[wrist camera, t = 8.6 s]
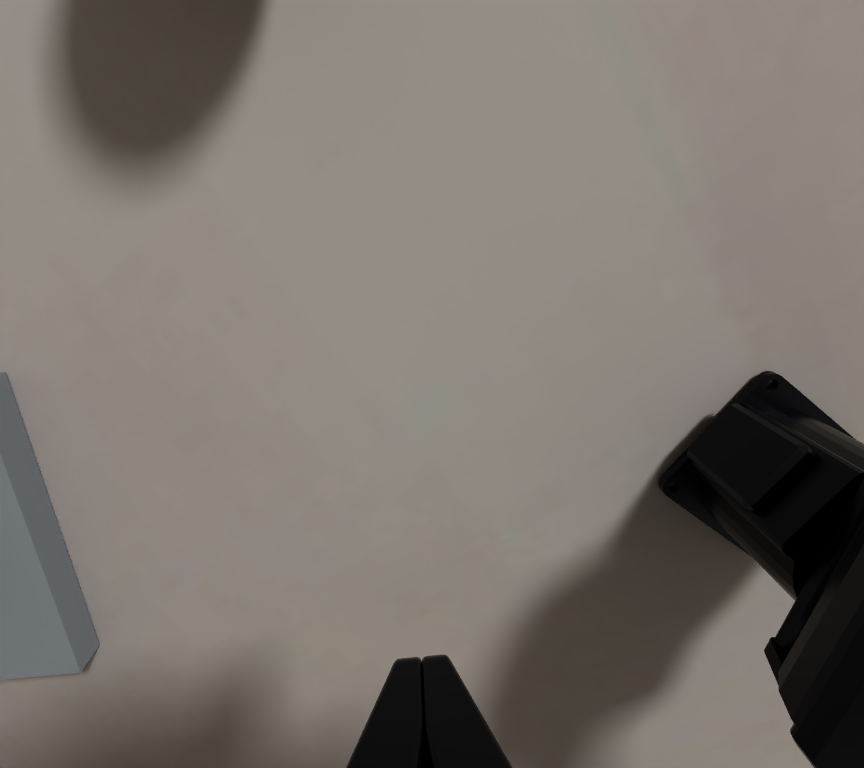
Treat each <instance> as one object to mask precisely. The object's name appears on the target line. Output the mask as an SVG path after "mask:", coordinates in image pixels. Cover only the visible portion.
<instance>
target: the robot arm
mask: <svg viewBox="0 0 864 768" xmlns="http://www.w3.org/2000/svg"><path fill="white" fill-rule="evenodd" d="M771 380H772V383H771V385H770V386H769V387H768V388H766V385H767V383H768V382H769V381H771ZM675 481H676V483H675V484H674V485H673V486H672V487H668V486H669V485H670V483H672V482H675ZM658 485H659V488H660V489H661V490H662V491H663V493H664V494H665V495H666V496H668V497H669V498H670V499H672V500H673V501H675V502H676V503H677V504H679V505H680V506H682V507H683V508H684V509H686V510H687V511H689V512H690V513H691V514H693V515H694V516H696V517H697V518H698V519H700V520H701V521H703V522H704V523H705V524H707V525H708V526H710V527H711V528H712V529H714V530H715V531H717V532H718V533H719V534H721V535H722V536H723V537H725V538H726V539H728V540H729V541H730V542H732V543H733V544H735V545H736V546H737V547H739V548H740V549H742V550H743V551H744V552H746V553H747V554H749V555H750V556H751V557H753V558H754V559H755V560H756V561H757V562H758V563H759V564H760V566H761V567H762V568H763V569H764V570H765V571H766V572H767V573H768V574H769V575H770V576H771V577H772V578H773V579H774V580H775V581H776V582H777V583H778V584H779V585H780V586H781V587H782V588H783V589H784V590H785V591H786V592H787V593H788V594H789V595H790V596H791V597H792V598H793V599H794V600H795V603H794V604H793V606H792V608H791V610H790V612H789V613H788V615H787V617H786V619H785V621H784V622H783V624H782V626H781V628H780V630H779V631H778V633H777V635H776V637H771V638H770V640H769V642H768V644H767V646H766V647H765V649H764V652H765V655H766V657H767V659H768V662H769V664H770V666H771V669H772V671H773V674H774V676H775V678H776V681H777V683H778V685H779V693H780V695H781V697H782V699H783V701H784V704H785V706H786V708H787V710H788V713H789V715H790V717H791V719H792V721H793V722H794V724H793V726H792V727H791V730H790V733H791V735H792V737H793V739H794V741H795V743H796V745H797V746H798V747H799V749H800V750H801V751H802V752H803V754H804V755H805V756H806V758H807V759H808V760H809V762H810V763H811V764H812V765H813V767H814V768H864V444H863V443H861V442H859V441H857V440H856V439H854V438H853V437H852V436H851V435H850V434H849V433H847V432H846V431H845V430H844V429H843V428H842V427H840V426H839V425H838V424H837V423H836V422H835V421H833V420H832V419H831V418H830V417H829V416H828V415H826V414H825V413H824V412H823V411H822V410H821V409H819V408H818V407H817V406H816V405H815V404H814V403H812V402H811V401H810V400H809V399H808V398H807V397H805V396H804V395H803V394H802V393H801V392H800V391H798V390H797V389H796V388H795V387H794V386H793V385H791V384H790V383H789V382H788V381H787V380H786V379H784V378H783V377H782V376H780V375H778V374H776V373H774V372H772V371H765V372H762V373H760V374H759V375H758V376H757V377H756V378H755V379H754V380H753V381H752V382H751V383H750V384H749V385H748V386H747V387H746V388H745V389H744V390H743V391H742V392H741V393H740V395H739V396H738V397H737V398H736V399H735V400H734V401H733V402H732V403H731V404H730V405H729V406H728V407H727V408H726V409H725V410H724V411H723V412H722V413H721V414H720V415H719V416H718V418H717V419H716V420H715V421H714V422H713V423H712V424H711V425H710V426H709V427H708V428H707V429H706V430H705V431H704V432H703V433H702V434H701V435H700V436H699V437H698V438H697V440H696V441H695V442H694V443H693V444H692V445H691V446H690V447H689V448H688V449H687V450H686V451H685V452H684V453H683V454H682V455H681V456H680V457H679V458H678V459H677V460H676V461H675V463H674V464H673V465H672V466H671V467H670V468H669V469H668V470H667V471H666V472H665V473H664V474H663V475H662V476H661V478H660V479H659V483H658ZM346 768H512V767H511V765H510V763H509V761H508V760H507V758H506V756H505V754H504V753H503V751H502V749H501V747H500V746H499V744H498V742H497V740H496V739H495V737H494V735H493V733H492V732H491V730H490V728H489V726H488V725H487V723H486V721H485V719H484V718H483V716H482V714H481V713H480V711H479V709H478V707H477V706H476V704H475V702H474V700H473V699H472V697H471V695H470V693H469V692H468V690H467V688H466V686H465V685H464V683H463V681H462V679H461V678H460V676H459V674H458V672H457V671H456V669H455V667H454V666H453V664H452V662H451V660H450V659H449V657H448V656H446V655H434V656H426V657H424V658H423V659H422V661H421V659H420V658H418V657H413V658H402V659H397V660H396V661H395V663H394V664H393V666H392V668H391V671H390V673H389V675H388V677H387V679H386V682H385V684H384V686H383V688H382V690H381V693H380V695H379V697H378V699H377V701H376V704H375V706H374V708H373V710H372V712H371V715H370V717H369V719H368V721H367V723H366V725H365V728H364V730H363V732H362V734H361V736H360V739H359V741H358V743H357V745H356V747H355V750H354V752H353V754H352V756H351V758H350V761H349V763H348V765H347V767H346Z"/></svg>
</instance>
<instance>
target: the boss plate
mask: <svg viewBox="0 0 864 768" xmlns="http://www.w3.org/2000/svg"><path fill="white" fill-rule="evenodd" d="M99 645H100V644H99V641H98V638H97V635H96V632H95V630H94V627H93V624H92V621H91V618H90V615H89V612H88V609H87V606H86V603H85V600H84V598H83V595H82V592H81V589H80V586H79V583H78V580H77V577H76V574H75V571H74V569H73V566H72V563H71V560H70V557H69V554H68V551H67V548H66V545H65V542H64V539H63V537H62V534H61V531H60V528H59V525H58V522H57V519H56V516H55V513H54V510H53V508H52V505H51V502H50V499H49V496H48V493H47V490H46V487H45V484H44V481H43V478H42V476H41V473H40V470H39V467H38V464H37V461H36V458H35V455H34V452H33V449H32V446H31V444H30V441H29V438H28V435H27V432H26V429H25V426H24V423H23V420H22V417H21V415H20V412H19V409H18V406H17V403H16V400H15V397H14V394H13V391H12V388H11V385H10V383H9V380H8V377H7V374H6V373H0V680H7V679H18V678H29V677H40V676H52V675H63V674H74V673H81V672H82V670H83V669H84V667H85V666H86V664H87V663H88V661H89V660H90V659H91V657H92V656H93V654H94V653H95V651H96V650H97V648H98V647H99Z"/></svg>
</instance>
